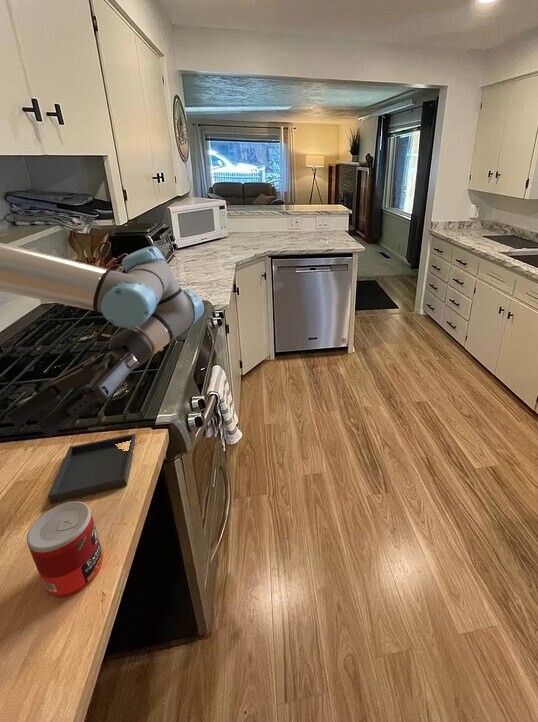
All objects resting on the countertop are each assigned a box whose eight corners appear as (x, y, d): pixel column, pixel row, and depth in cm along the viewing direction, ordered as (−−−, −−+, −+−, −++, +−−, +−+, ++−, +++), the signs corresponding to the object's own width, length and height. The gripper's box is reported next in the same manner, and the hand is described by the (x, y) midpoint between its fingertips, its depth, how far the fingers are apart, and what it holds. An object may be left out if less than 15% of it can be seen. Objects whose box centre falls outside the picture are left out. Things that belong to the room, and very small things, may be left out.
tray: (50, 504, 69) (47, 496, 68) (71, 453, 80) (69, 446, 80) (126, 486, 73) (125, 478, 72) (136, 440, 84) (135, 433, 84)
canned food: (100, 586, 56) (84, 537, 52) (38, 608, 53) (16, 558, 49) (108, 540, 62) (94, 494, 58) (53, 557, 59) (35, 510, 56)
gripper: (186, 357, 66) (75, 454, 50) (118, 357, 80) (15, 433, 64) (164, 323, 63) (40, 415, 47) (98, 329, 77) (-15, 402, 61)
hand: (25, 426), depth 55 cm, fingers open, 13 cm apart
